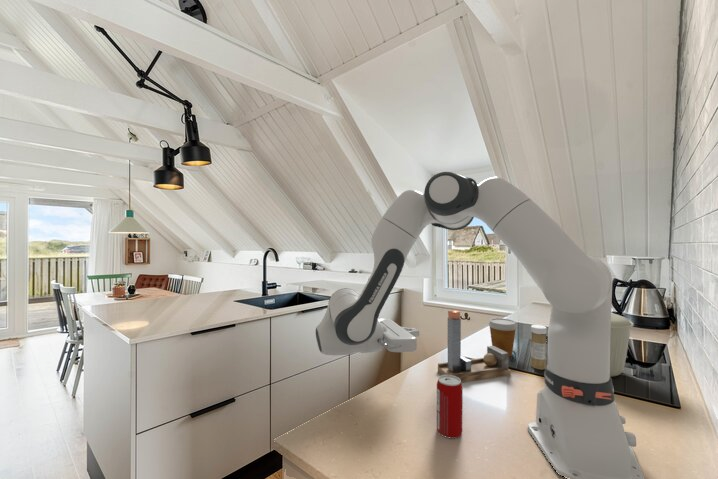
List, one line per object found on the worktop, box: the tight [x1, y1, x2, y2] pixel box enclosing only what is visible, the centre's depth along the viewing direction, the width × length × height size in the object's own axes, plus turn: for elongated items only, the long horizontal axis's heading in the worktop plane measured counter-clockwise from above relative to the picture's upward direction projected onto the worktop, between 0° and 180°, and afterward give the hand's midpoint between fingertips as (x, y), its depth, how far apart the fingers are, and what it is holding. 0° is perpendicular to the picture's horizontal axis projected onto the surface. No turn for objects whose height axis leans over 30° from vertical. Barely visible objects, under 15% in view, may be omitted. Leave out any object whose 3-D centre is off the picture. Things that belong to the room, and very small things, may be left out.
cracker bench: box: [437, 345, 512, 383], centre depth 103 cm, size 20×9×6 cm, turn 106°
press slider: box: [447, 309, 471, 372], centre depth 102 cm, size 6×6×18 cm
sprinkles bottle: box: [530, 324, 548, 370], centre depth 108 cm, size 5×5×14 cm
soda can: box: [436, 374, 463, 439], centre depth 73 cm, size 6×6×12 cm
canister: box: [610, 312, 635, 378], centre depth 105 cm, size 18×18×21 cm
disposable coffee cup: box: [488, 317, 518, 358], centre depth 119 cm, size 10×10×12 cm
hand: (417, 332), depth 98 cm, fingers closed
